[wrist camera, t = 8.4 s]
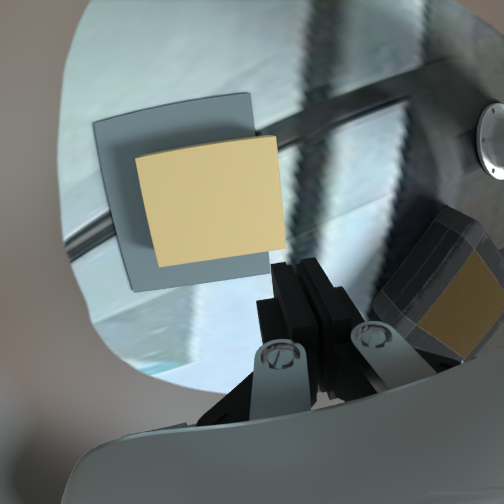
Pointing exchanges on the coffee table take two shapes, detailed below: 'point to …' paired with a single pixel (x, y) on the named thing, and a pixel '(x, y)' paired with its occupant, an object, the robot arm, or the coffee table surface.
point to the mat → (130, 195)
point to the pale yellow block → (213, 200)
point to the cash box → (446, 289)
